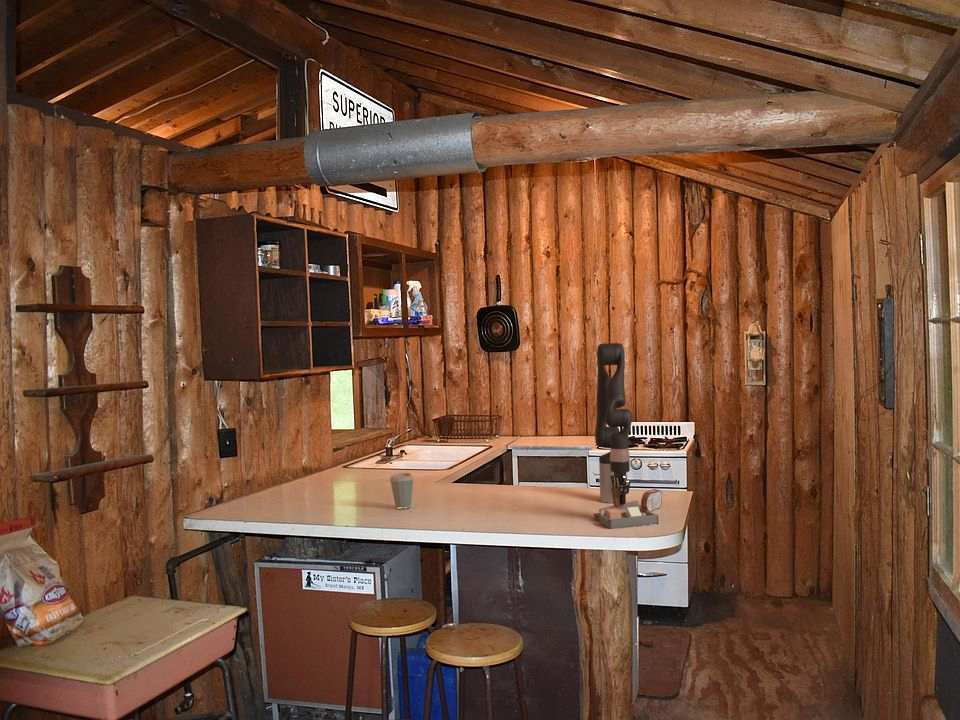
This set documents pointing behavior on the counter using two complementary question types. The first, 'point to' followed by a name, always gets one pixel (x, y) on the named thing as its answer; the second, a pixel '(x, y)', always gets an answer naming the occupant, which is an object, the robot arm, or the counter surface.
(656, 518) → the box
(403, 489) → the disposable coffee cup
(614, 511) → the salmon pink cube
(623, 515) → the walnut board
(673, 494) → the counter surface
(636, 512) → the cream block
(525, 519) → the counter surface
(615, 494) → the cube on grey rod
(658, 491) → the tin
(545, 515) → the counter surface
